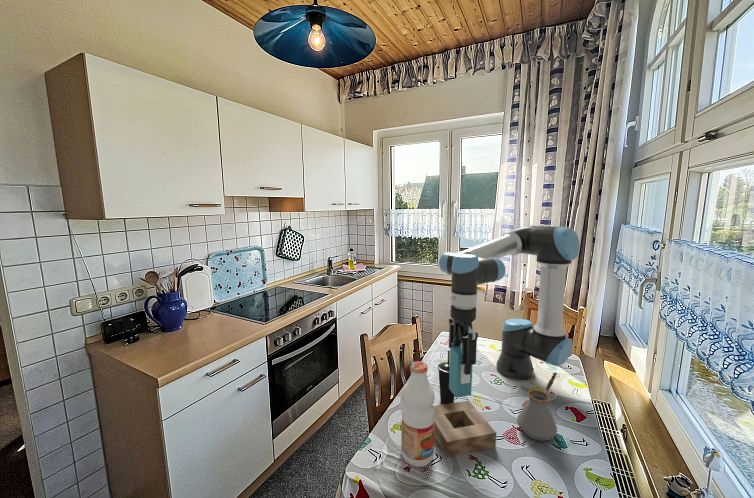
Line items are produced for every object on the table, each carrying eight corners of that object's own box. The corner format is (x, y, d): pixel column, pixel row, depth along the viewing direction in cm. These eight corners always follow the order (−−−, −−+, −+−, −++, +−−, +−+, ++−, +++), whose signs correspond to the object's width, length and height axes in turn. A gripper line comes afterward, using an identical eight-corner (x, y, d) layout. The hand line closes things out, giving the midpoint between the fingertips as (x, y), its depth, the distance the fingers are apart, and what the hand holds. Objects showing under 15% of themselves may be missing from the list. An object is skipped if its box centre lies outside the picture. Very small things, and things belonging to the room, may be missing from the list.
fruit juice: (406, 439, 97) (407, 354, 93) (436, 447, 93) (438, 360, 90) (396, 462, 88) (397, 370, 84) (429, 472, 85) (432, 376, 81)
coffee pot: (548, 451, 92) (552, 405, 90) (510, 431, 100) (513, 388, 98) (571, 419, 106) (575, 378, 104) (536, 403, 114) (539, 365, 112)
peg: (463, 386, 100) (464, 345, 98) (471, 395, 95) (473, 352, 94) (448, 388, 99) (450, 346, 97) (456, 397, 94) (458, 354, 92)
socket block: (467, 413, 109) (468, 400, 108) (495, 447, 93) (496, 432, 93) (425, 420, 105) (425, 407, 104) (446, 457, 90) (447, 441, 89)
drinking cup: (458, 409, 111) (460, 356, 108) (436, 406, 113) (438, 354, 110) (457, 396, 119) (459, 347, 116) (436, 394, 120) (438, 345, 117)
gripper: (439, 298, 101) (437, 364, 104) (467, 316, 84) (464, 396, 87) (459, 296, 103) (457, 362, 106) (492, 314, 86) (487, 392, 89)
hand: (460, 377), depth 97 cm, fingers closed on peg, 5 cm apart
